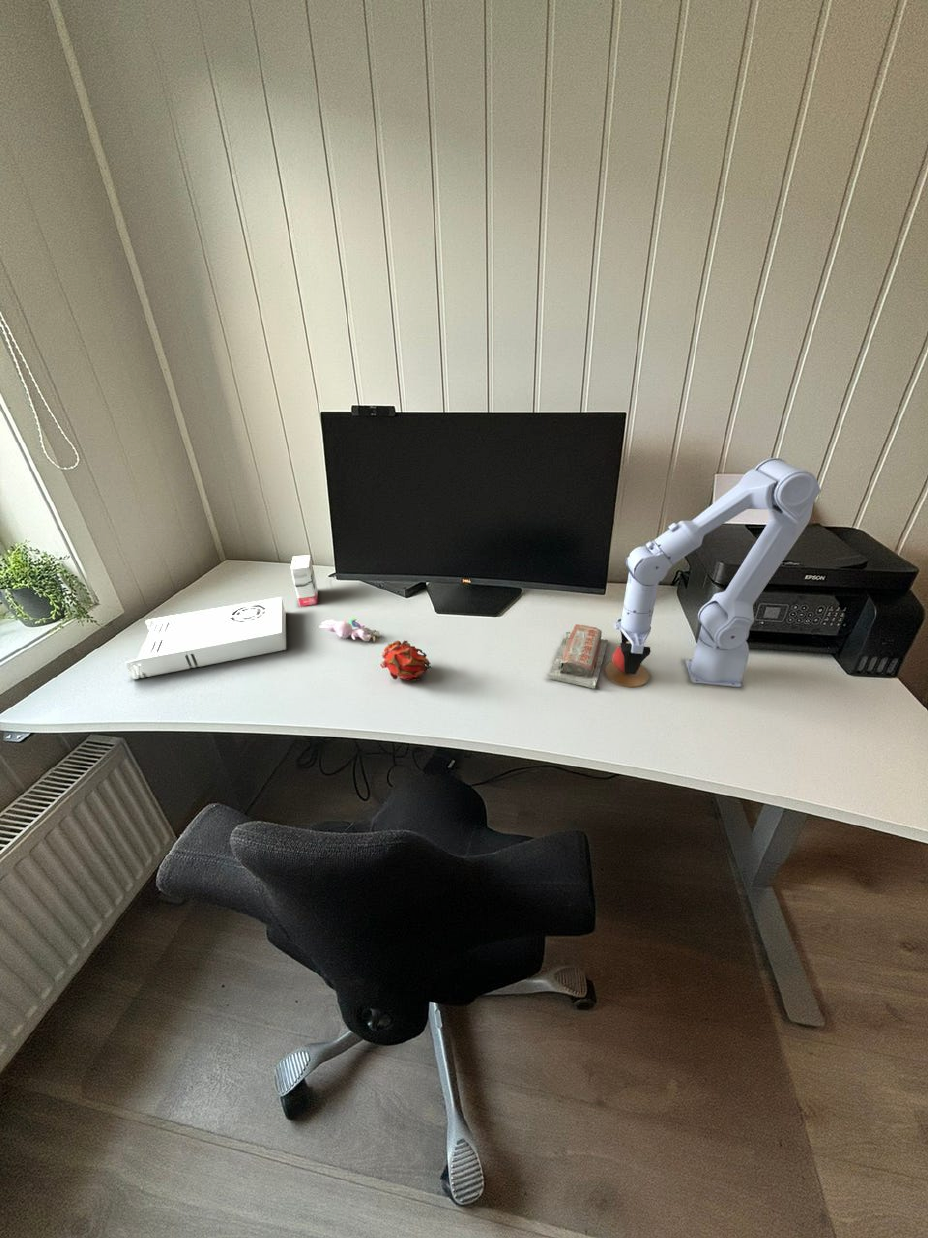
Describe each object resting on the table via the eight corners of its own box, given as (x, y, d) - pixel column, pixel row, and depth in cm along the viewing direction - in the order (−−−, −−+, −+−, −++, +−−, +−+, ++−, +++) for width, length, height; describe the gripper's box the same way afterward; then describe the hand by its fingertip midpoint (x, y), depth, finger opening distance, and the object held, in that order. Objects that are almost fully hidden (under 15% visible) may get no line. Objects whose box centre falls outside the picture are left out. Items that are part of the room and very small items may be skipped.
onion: (633, 664, 106) (639, 633, 102) (642, 680, 101) (649, 649, 97) (607, 665, 106) (612, 634, 102) (615, 681, 101) (620, 650, 97)
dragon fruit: (384, 670, 110) (429, 689, 107) (366, 671, 102) (415, 691, 98) (396, 635, 110) (442, 653, 106) (379, 633, 102) (429, 652, 98)
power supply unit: (152, 636, 123) (144, 620, 120) (285, 612, 131) (281, 596, 129) (133, 680, 108) (124, 662, 105) (286, 649, 116) (281, 632, 113)
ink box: (317, 604, 135) (309, 566, 129) (299, 606, 134) (289, 568, 128) (318, 590, 142) (310, 553, 136) (301, 593, 141) (292, 556, 135)
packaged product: (567, 619, 114) (610, 627, 111) (565, 636, 117) (607, 644, 114) (549, 662, 100) (597, 671, 97) (547, 680, 103) (595, 690, 99)
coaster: (646, 663, 107) (646, 662, 106) (650, 689, 99) (651, 688, 99) (604, 659, 108) (604, 658, 108) (605, 684, 101) (605, 683, 101)
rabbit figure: (381, 637, 122) (326, 624, 123) (382, 617, 119) (325, 604, 120) (372, 651, 117) (314, 637, 118) (372, 631, 113) (313, 617, 115)
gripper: (615, 588, 102) (607, 641, 109) (619, 624, 90) (610, 681, 97) (650, 590, 100) (640, 644, 107) (659, 627, 88) (647, 684, 95)
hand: (628, 662), depth 102 cm, fingers open, 7 cm apart
